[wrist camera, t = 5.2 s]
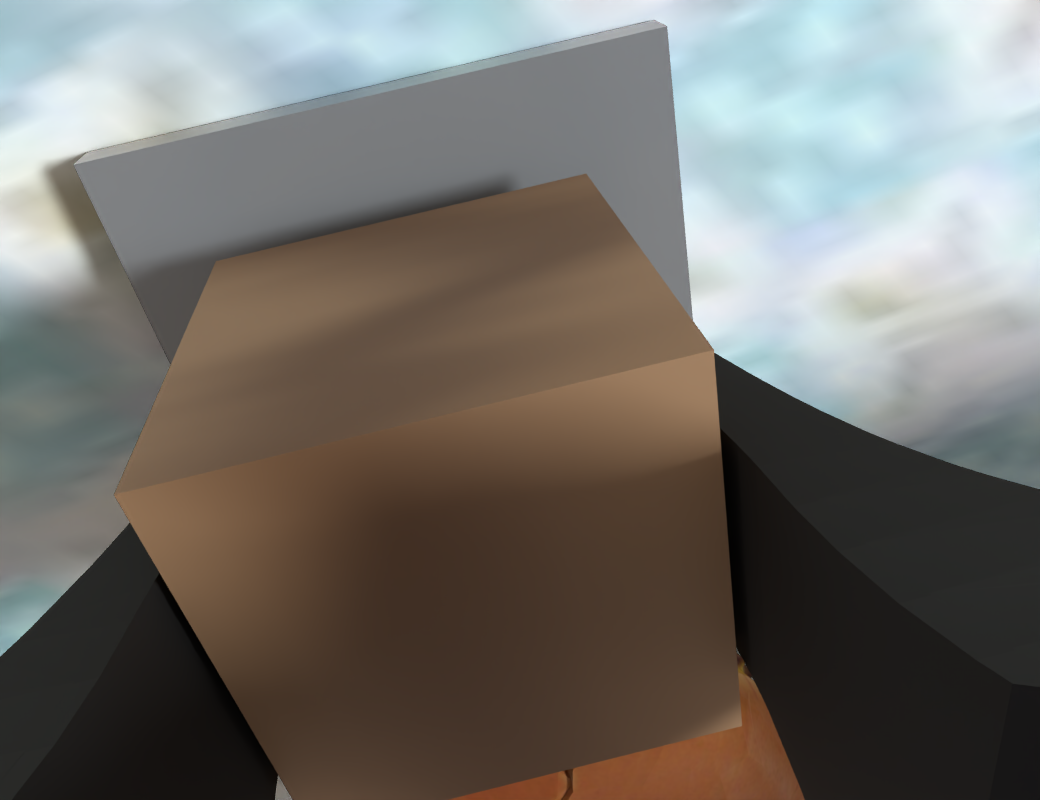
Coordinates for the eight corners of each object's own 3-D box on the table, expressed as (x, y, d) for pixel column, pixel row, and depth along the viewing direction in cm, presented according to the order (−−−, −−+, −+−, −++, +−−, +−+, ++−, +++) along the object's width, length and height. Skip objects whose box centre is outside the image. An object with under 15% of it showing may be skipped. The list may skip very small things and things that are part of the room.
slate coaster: (654, 20, 12) (666, 26, 11) (697, 469, 16) (707, 488, 15) (87, 152, 11) (73, 164, 11) (284, 569, 16) (281, 593, 15)
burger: (672, 829, 23) (734, 1028, 19) (318, 830, 20) (303, 1055, 16) (813, 549, 18) (936, 737, 14) (371, 511, 16) (367, 721, 12)
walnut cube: (586, 173, 11) (714, 349, 7) (630, 468, 14) (741, 726, 10) (215, 260, 11) (114, 494, 7) (333, 541, 14) (312, 833, 9)
